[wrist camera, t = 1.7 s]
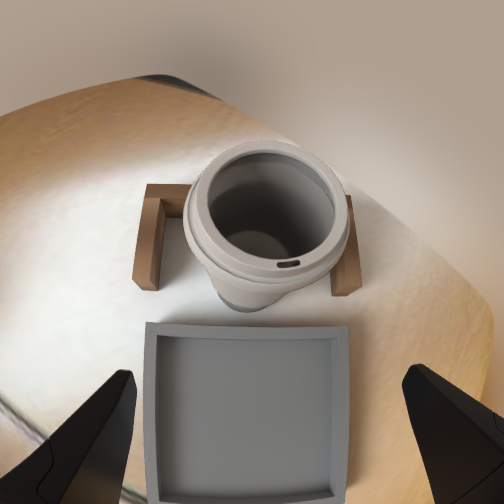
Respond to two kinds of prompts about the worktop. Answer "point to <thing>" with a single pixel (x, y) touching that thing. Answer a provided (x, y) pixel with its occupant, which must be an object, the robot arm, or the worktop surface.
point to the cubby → (172, 205)
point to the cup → (265, 222)
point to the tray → (246, 414)
